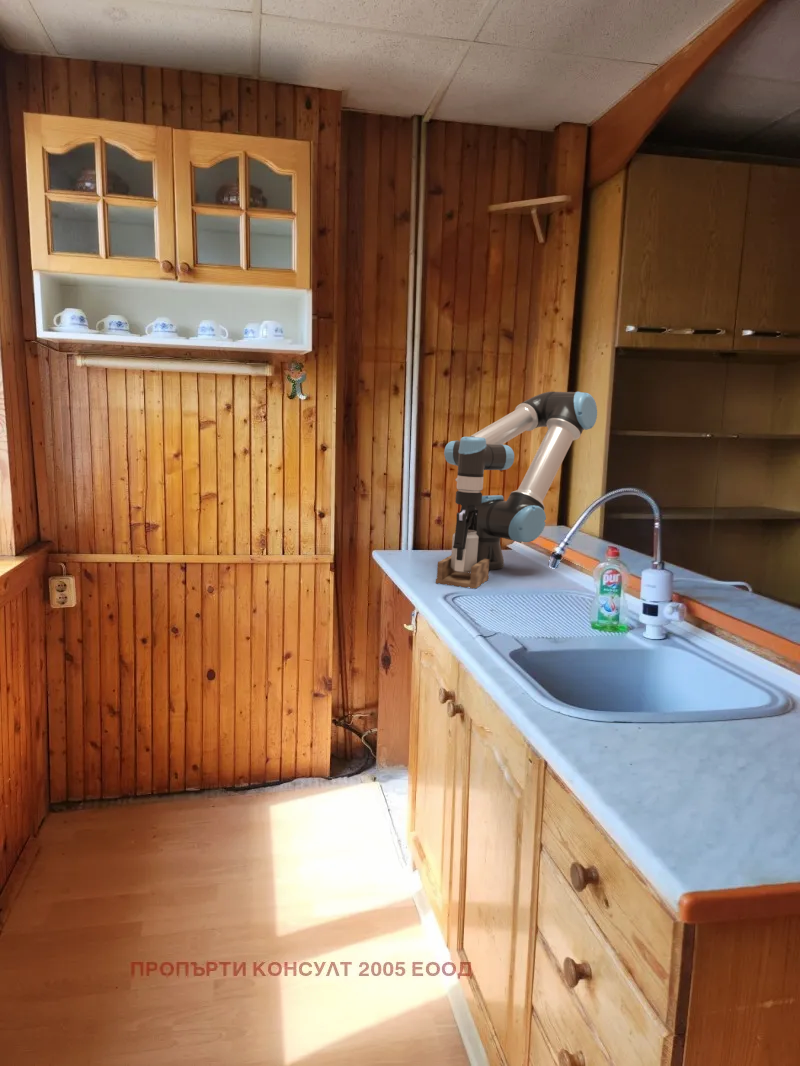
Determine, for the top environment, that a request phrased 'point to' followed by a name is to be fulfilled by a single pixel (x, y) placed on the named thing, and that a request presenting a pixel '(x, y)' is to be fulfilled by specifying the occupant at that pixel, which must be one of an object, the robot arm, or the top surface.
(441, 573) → the rack
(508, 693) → the top surface
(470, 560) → the can
